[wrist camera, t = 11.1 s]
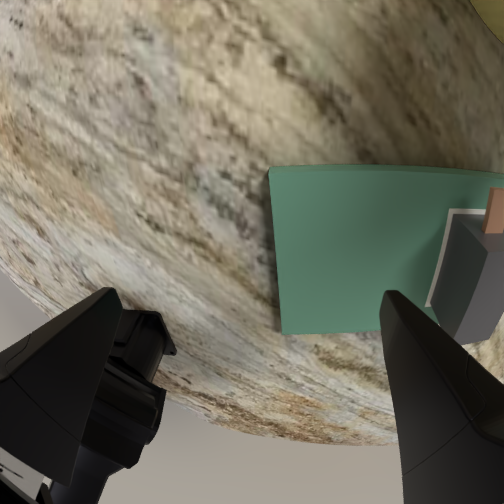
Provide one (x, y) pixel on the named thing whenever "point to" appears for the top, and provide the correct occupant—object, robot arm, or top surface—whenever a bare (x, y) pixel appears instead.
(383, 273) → the board
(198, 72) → the top surface
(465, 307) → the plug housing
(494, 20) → the potted cactus
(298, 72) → the top surface
